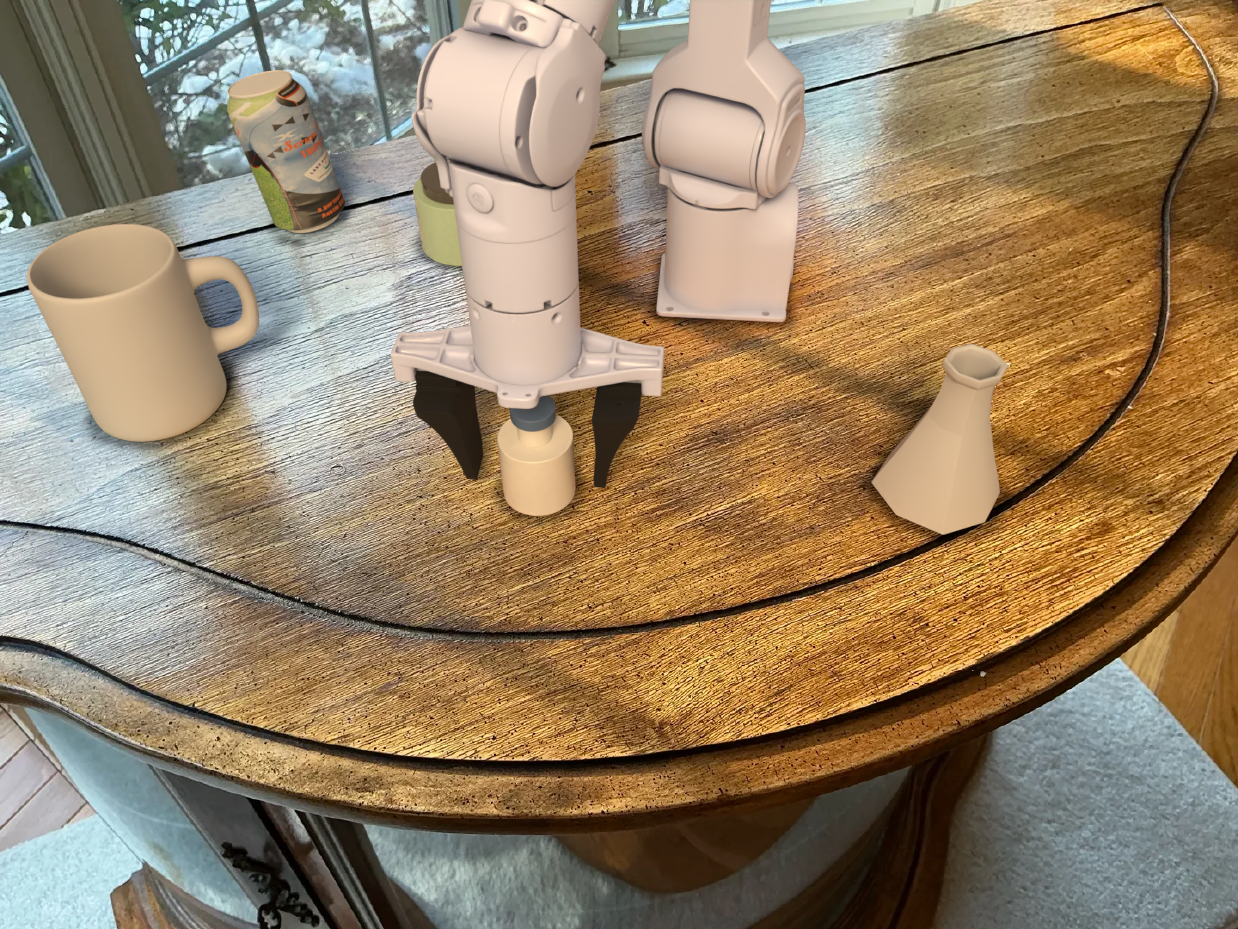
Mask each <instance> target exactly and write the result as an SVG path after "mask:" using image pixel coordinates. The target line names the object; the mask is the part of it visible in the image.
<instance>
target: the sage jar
mask: <svg viewBox="0 0 1238 929" xmlns="http://www.w3.org/2000/svg"><path fill="white" fill-rule="evenodd" d="M412 194H413V199H414V206H415V212H416V217H417V224H418V229H419V235H420V242H421V247H422V251H423V252H424V254H425V256H427V257H428V258H429V259H430V260H433V261H434V262H436V263H439V264H442V265H446V266H453V267H462V261H461V253H460V246H459V238H458V231H457V223H456V216H455V208H454V201H453V197H451V196H449V193H446V191H445V189H443V188H441V186H440V179H439V172H438V167H437V164H436V162H435V161H434V162H433V163H430V164H429V165H427V166H426V167H425V168H424V169H423V170H422V172H421V174H420V177H419V178H418V179H417V180H416V182H415V183H414V185H413V188H412Z"/></svg>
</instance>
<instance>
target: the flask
mask: <svg viewBox="0 0 1238 929" xmlns="http://www.w3.org/2000/svg"><path fill="white" fill-rule="evenodd" d="M1008 368H1009V364H1008V363H1007V362H1006V361H1005V360H1004V359H1003V358H1002V357H1000V355H999V354H997V352H995V351H994V350H992V349H989V348H987V347H986V348H985V347H982V346H980V345H978V344H974V343H968V344H964V345H960V346H957V347H951V349H950V351H948V354H947V355H946V356H945V358H944V360H943V362H942V369H943V370H944V371H945V375H944V378H943V382H942V384H941V387H940V390H939V392H938V394H937V396H936V398H935V399H934V401H933V403H932V405H930V407H929V408H928V409H927V411H925V413H924V414H923V416H922V417H921V418H920V419H919V421H917V423H916V424H915V425H914V426H913V428H912V429H911V430H909V432H908V433H907V434H906V435H905V436H904V437H903V438H902V439H901V440H900V442H898V444H897V445H896V446H895V447H894V448H893V449H892V451H891V452H890V453H889V454H888V456H887V457H886V459H885V461H884V462H883V463H882V465H881V467H880V468H879V470H877V473H876V474H875V476H874V477H873V479H872V480H871V485H872V486H873V487H874V488H875V489H876V491H877V492H878V493H879V495H880V496H881V497H882V498H883V500H884V501H885V502H886V504H887V505H888V506H889V508H890V509H891V510H892V511H893V513H894V514H895V515H896V516H897V517H900V518H903V519H904V520H907V521H909V522H911V523H914V524H916V525H918V526H921V527H923V528H925V529H928V530H931V531H933V532H936V533H938V534H940V535H947V534H951V533H953V532H956V531H960V530H964V529H967V528H970V527H972V526H977V525H980V524H983V523H985V522H986V521H987V519H988V517H989V515H990V513H991V511H992V509H993V506H994V505H995V504H996V501H997V499H998V498H999V496H1000V493H1001V490H1000V480H999V476H998V469H997V463H996V458H995V452H994V442H993V440H994V439H993V433H992V423H991V422H992V421H991V413H992V403H993V393H994V390H995V387H996V386H997V385H999V383H1000V382H1001V380H1002V378H1003V376H1004V375H1005V373H1006V371H1007V369H1008Z"/></svg>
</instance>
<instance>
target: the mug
mask: <svg viewBox="0 0 1238 929" xmlns="http://www.w3.org/2000/svg"><path fill="white" fill-rule="evenodd" d="M249 279H250V278H249V277H248V276H247V274H246V273H245V271H244V270H243V269H242V267H241V266H240V265H239V264H238V263H236V261H234V259H233V260H232V259H231V258H229V257H225V256H221V255H210V256H200V257H194V258H193V257H192V258H187V259H186V258H182V256H181V254H180V252H179V250H178V247H177V245H176V243H175V241H174V240H173V239H172V238H171V237H170V235H168V234H167V233H166V232H165V231H163V230H161V229H159V228H156V227H153V226H149V225H144V224H137V223H115V224H107V225H100V226H96V227H91V228H88V229H83V230H81V231H77V232H74V233H72V234H69V235H67V236H65V237H62V238H61V239H58V240H57V241H55V242H53V243H52V244H50V245H49V246H46V247H45V248H44V249H43V250H42V251H41V252H39V253H38V254H37V255H36V256H35V258H33V260H32V262H31V263H30V264H29V267H28V268H27V272H26V283H27V287H28V290H29V291H30V293H31V296H32V298H33V300H34V302H35V304H36V305H37V306H36V307H37V308H38V309H39V311H40V313H41V316H42V317H43V319H44V322H45V323H46V325H47V327H48V329H49V331H50V333H51V335H52V337H53V339H54V341H55V343H56V345H57V347H58V349H59V351H60V353H61V355H62V357H63V359H64V361H65V363H66V365H67V367H68V369H69V371H70V373H71V375H72V376H73V378H74V381H75V382H76V385H77V387H78V389H79V391H80V393H81V395H82V398H83V399H84V402H85V404H86V406H87V408H88V410H89V413H90V414H91V416H92V418H93V420H94V422H95V423H96V425H97V426H98V427H99V428H100V429H101V430H102V431H103V432H105V433H106V434H107V435H109V436H111V437H113V438H115V439H120V440H122V441H126V442H137V443H138V442H139V443H143V442H145V443H146V442H155V441H161V440H167V439H170V438H173V437H177V436H180V435H182V434H185V433H187V432H189V431H191V430H193V429H195V428H197V427H199V426H200V425H202V424H203V423H204V422H206V421H207V420H208V419H210V418H211V417H212V416H213V415H214V414H215V413H216V412H217V411H218V410H219V409H220V407H221V405H222V404H223V402H224V399H225V397H226V395H227V394H226V393H227V379H226V375H225V371H224V369H223V366H222V364H221V361H220V359H219V357H218V356H219V354H222V353H225V352H228V351H232V350H234V349H236V348H240V347H241V346H244V345H246V344H247V343H249V342H250V341H251V340H253V338H255V336H256V335H257V333H258V331H259V330H258V329H259V327H260V326H259V325H260V311H259V304H258V301H257V297H256V293H255V290H254V288H253V285H252V283H251V282H250V280H249ZM216 280H223V281H226V282H229V283H230V284H231V285H233V287H234V288H235V289H236V291H237V293H238V295H239V299H240V301H241V302H240V303H241V308H242V309H241V315H240V318H238V320H237V321H236V322H234V323H232V324H230V325H226V326H221V327H211V326H209V325H208V324H207V323H206V322H205V319H204V316H203V314H202V312H201V308H200V306H199V303H198V301H197V300H198V299H197V297H196V295H195V291H196V290H197V289H198V288H199V287H201V286H203V285H204V284H207V283H209V282H212V281H213V282H214V281H216Z"/></svg>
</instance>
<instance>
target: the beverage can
mask: <svg viewBox="0 0 1238 929" xmlns="http://www.w3.org/2000/svg"><path fill="white" fill-rule="evenodd" d="M226 92H227V95H228V102H227V105H226V106H227V108H226V112H227V115H228V117H229V120H230V122H231V125H232V127H233V129H234V131H235V134H236V136H237V138H238V141H239V143H240V146H241V148H242V151H243V153H244V156H245V158H246V160H247V162H248V165H249V167H250V169H251V172H252V175H253V177H254V180H255V182H256V184H257V186H258V189H259V191H260V194H261V196H262V199H263V201H264V203H265V206H266V208H267V211H268V213H269V216H270V218H271V220H272V222H273V225H275V227H277V228H278V229H281V230H285V231H288V232H290V233H294V234H305V233H306V234H307V233H311V232H315V231H319V230H321V229H324V228H326V227H328V226H329V225H331V224H332V223H334V222H335V221H336V220H337V219H338V218H339V216H340V213H342V211H343V210H344V209H345V206H346V199H345V196H344V194H343V191H342V189H341V186H340V183H339V180H338V178H337V174H336V172H335V169H334V166H333V162H332V161H331V158H330V155H329V153H328V149H327V147H326V144H325V142H324V139H323V136H322V133H321V130H320V127H319V124H318V122H317V119H316V116H315V113H314V111H313V108H312V104H311V102H310V100H309V97H308V94H307V91H306V90H305V88H304V86H303V85H302V84H300V83H299V82H298V81H297V80H296V79H294V78H293V75H292V73H291V72H290V71H288V70H284V69H283V70H282V69H280V70H279V69H276V70H267V71H261V72H257V73H254V74H251V75H248V76H246V77H242V78H241V79H239V80H237V81H235V82H233V83H232V84H231V85H229V87H228V88H227V91H226Z"/></svg>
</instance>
